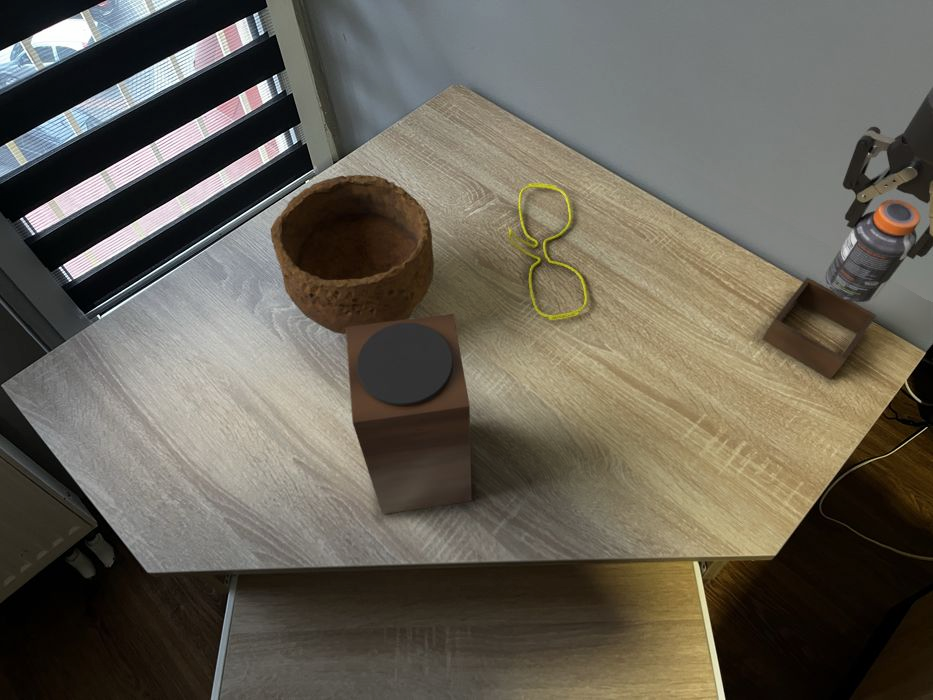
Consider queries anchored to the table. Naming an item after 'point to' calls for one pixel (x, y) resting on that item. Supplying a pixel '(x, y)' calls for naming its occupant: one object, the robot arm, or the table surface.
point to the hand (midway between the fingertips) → (882, 237)
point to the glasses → (546, 253)
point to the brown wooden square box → (831, 308)
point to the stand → (414, 432)
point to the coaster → (404, 364)
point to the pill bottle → (873, 251)
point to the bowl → (354, 252)
